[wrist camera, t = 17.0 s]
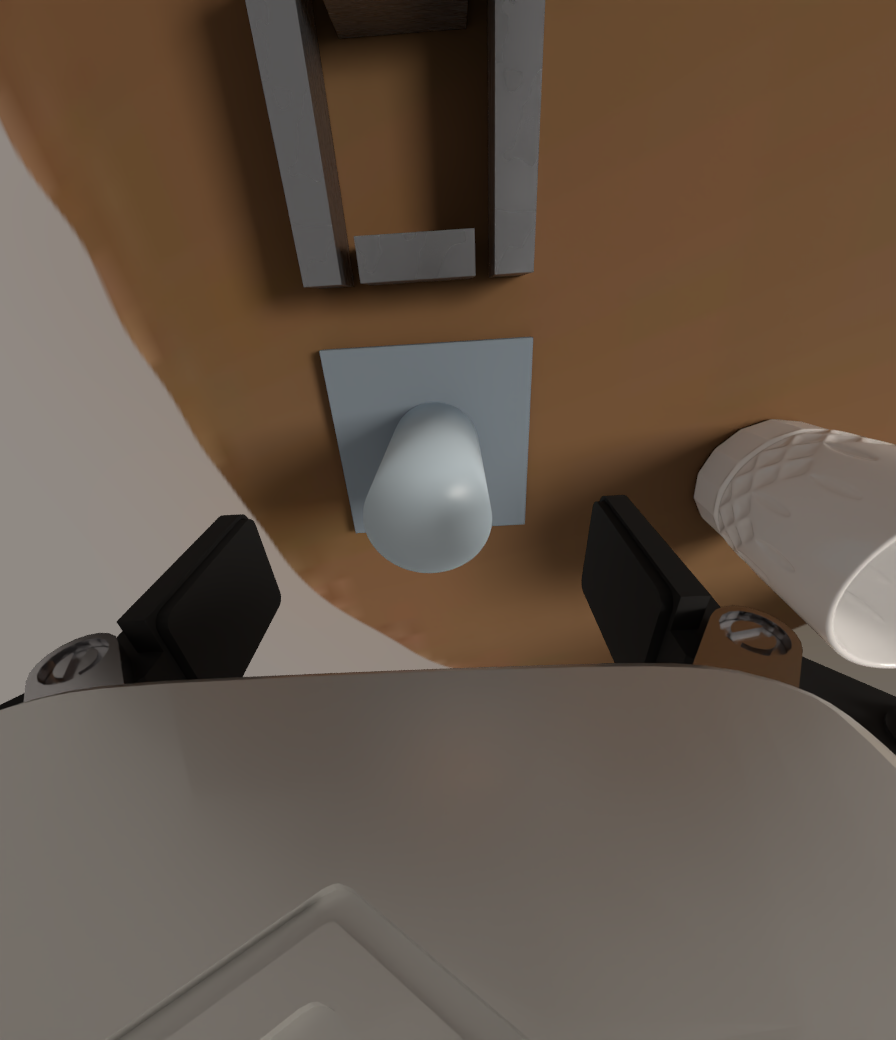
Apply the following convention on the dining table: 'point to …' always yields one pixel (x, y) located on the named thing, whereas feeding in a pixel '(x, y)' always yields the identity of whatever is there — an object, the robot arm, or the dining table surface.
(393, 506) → the cylinder
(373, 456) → the rubber mat
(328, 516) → the dining table surface
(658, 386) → the dining table surface
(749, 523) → the white cup
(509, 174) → the cartridge socket
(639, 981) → the robot arm
